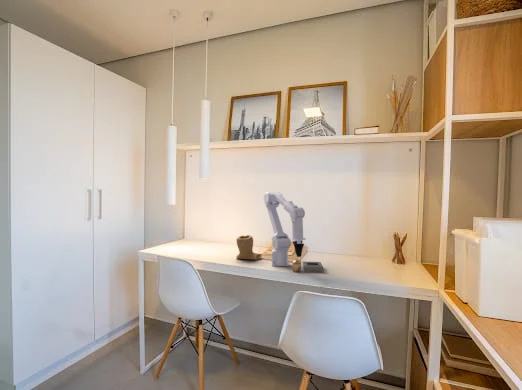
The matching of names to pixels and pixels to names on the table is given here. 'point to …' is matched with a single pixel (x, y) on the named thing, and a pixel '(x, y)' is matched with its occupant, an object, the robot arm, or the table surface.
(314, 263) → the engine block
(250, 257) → the brown boot
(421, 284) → the table surface
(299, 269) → the piston
